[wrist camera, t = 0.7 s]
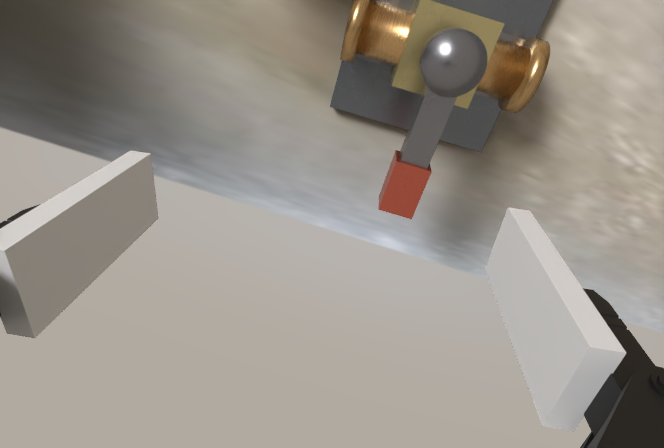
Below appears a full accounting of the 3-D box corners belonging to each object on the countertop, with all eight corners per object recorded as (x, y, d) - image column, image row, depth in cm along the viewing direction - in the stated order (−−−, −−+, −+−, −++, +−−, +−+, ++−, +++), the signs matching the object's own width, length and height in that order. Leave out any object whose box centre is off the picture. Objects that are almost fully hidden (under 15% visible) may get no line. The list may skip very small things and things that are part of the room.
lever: (432, 19, 26) (436, 20, 24) (491, 37, 26) (499, 40, 24) (370, 193, 33) (369, 206, 31) (418, 207, 33) (420, 221, 31)
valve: (331, 103, 39) (315, 132, 31) (380, -83, 32) (377, -112, 23) (478, 148, 40) (502, 188, 31) (560, -26, 32) (621, -35, 24)
